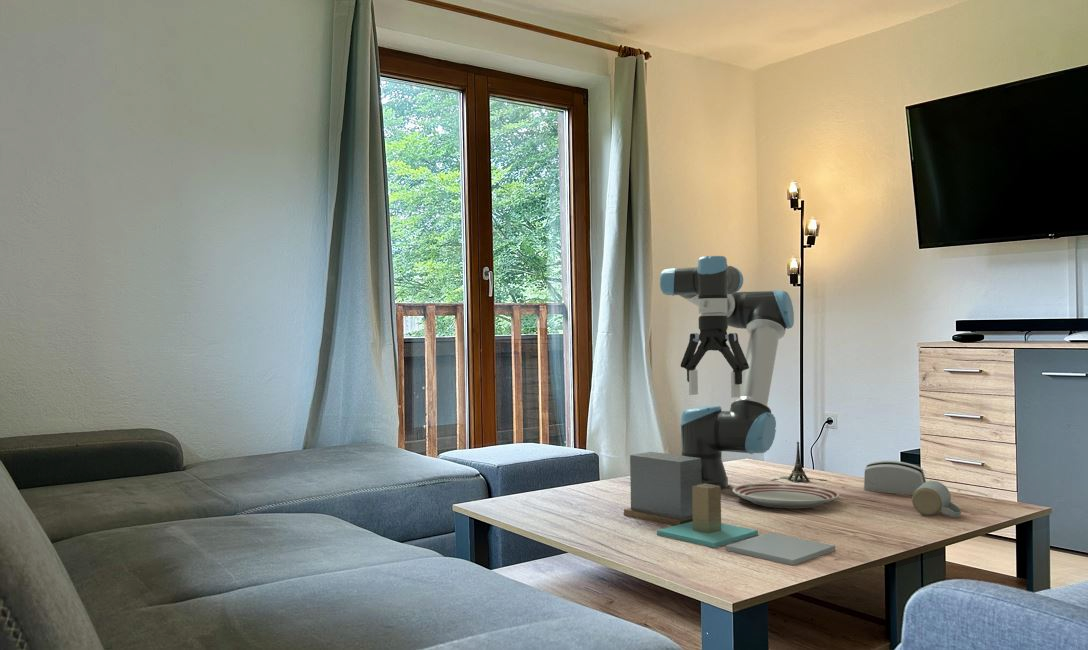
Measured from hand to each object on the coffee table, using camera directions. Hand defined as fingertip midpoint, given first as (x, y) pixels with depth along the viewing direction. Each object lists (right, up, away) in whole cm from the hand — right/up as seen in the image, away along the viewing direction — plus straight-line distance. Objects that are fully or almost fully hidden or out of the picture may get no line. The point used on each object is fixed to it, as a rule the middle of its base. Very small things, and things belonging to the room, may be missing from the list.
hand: (714, 396), depth 226 cm
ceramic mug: (+52, -28, -14) cm, 61 cm away
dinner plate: (+20, -29, +4) cm, 35 cm away
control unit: (-15, -29, -13) cm, 35 cm away
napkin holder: (+53, -28, +14) cm, 62 cm away
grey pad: (+5, -29, -46) cm, 54 cm away
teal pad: (-8, -29, -31) cm, 43 cm away
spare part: (-8, -28, -31) cm, 43 cm away
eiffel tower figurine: (+33, -29, +34) cm, 56 cm away
